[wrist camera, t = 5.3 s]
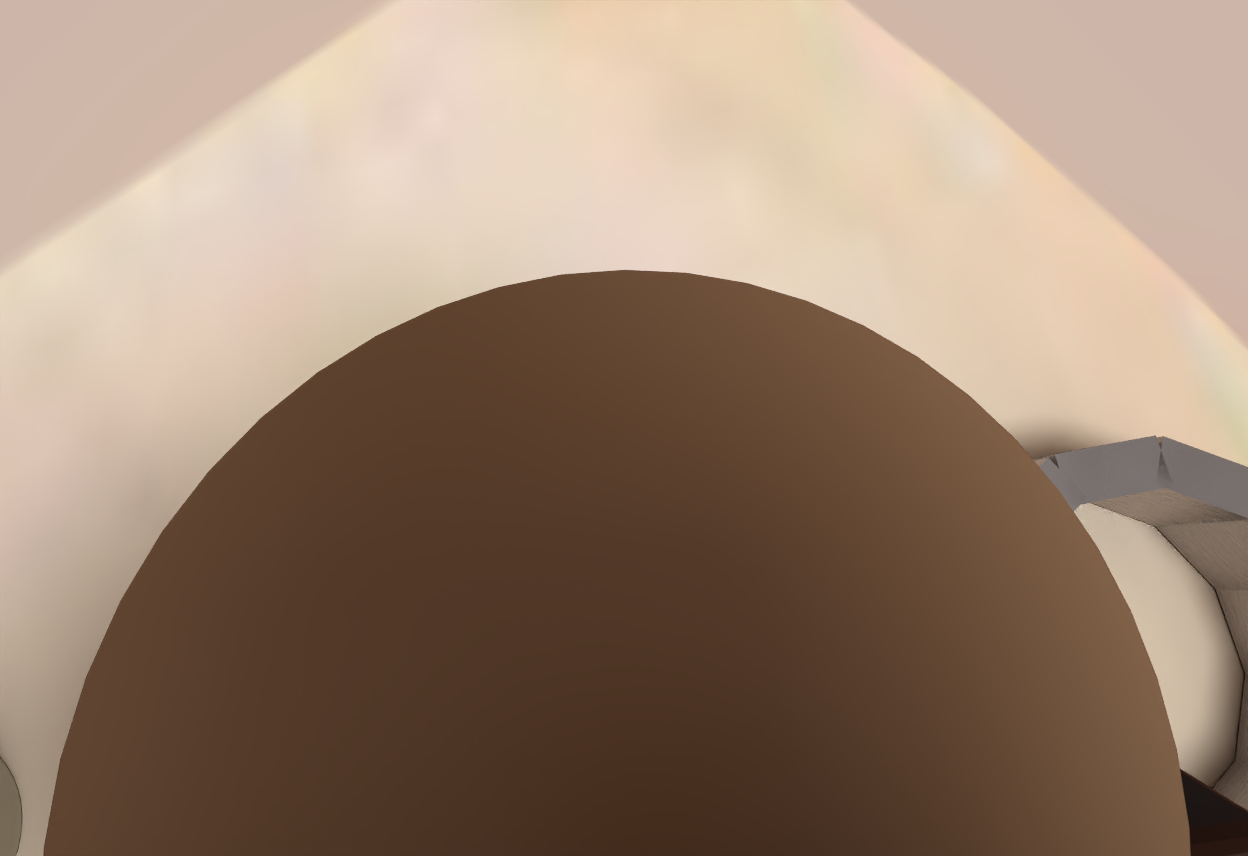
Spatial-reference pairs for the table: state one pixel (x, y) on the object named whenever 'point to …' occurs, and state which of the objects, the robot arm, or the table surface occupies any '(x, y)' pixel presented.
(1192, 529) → the steel ring
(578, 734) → the walnut peg
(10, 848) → the grey-green peg
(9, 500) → the table surface
